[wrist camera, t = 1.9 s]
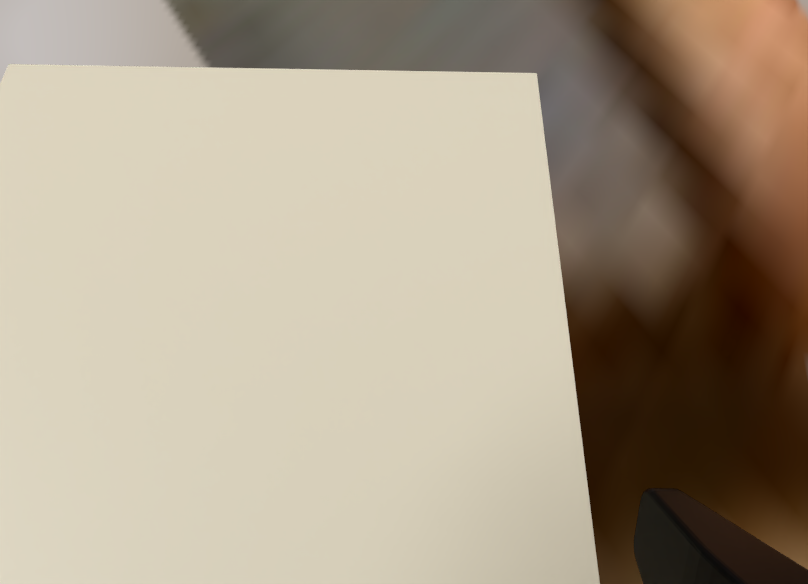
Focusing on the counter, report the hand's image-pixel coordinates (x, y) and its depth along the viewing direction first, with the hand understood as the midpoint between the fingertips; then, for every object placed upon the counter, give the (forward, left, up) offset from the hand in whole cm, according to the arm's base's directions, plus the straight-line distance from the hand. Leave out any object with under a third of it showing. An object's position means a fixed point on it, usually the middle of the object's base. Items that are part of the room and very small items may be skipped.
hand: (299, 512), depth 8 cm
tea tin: (+1, 0, -9) cm, 9 cm away
